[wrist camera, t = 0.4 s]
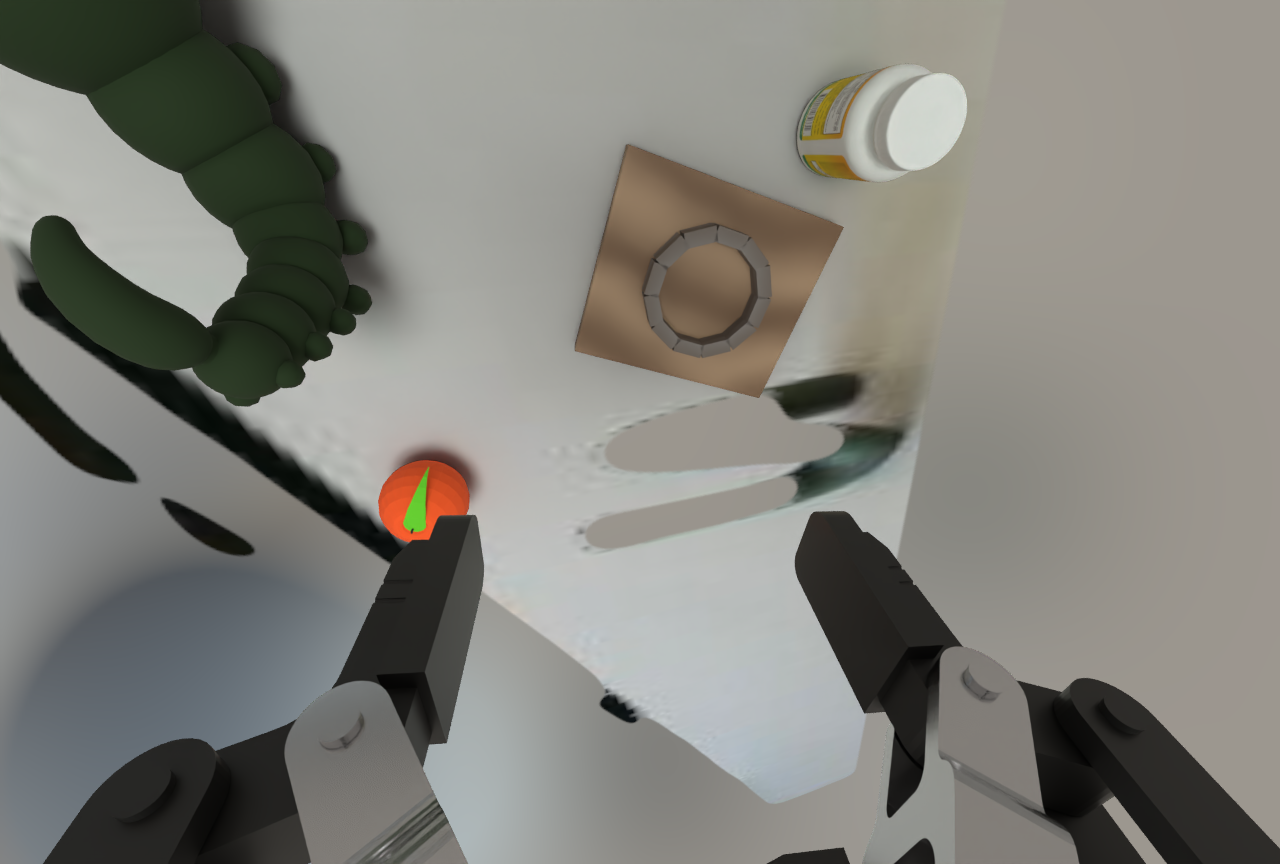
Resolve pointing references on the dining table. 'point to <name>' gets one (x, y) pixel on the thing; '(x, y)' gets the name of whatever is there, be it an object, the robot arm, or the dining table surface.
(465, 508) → the clementine
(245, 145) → the toy figurine
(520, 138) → the dining table surface
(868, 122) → the supplement bottle
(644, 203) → the collar board
